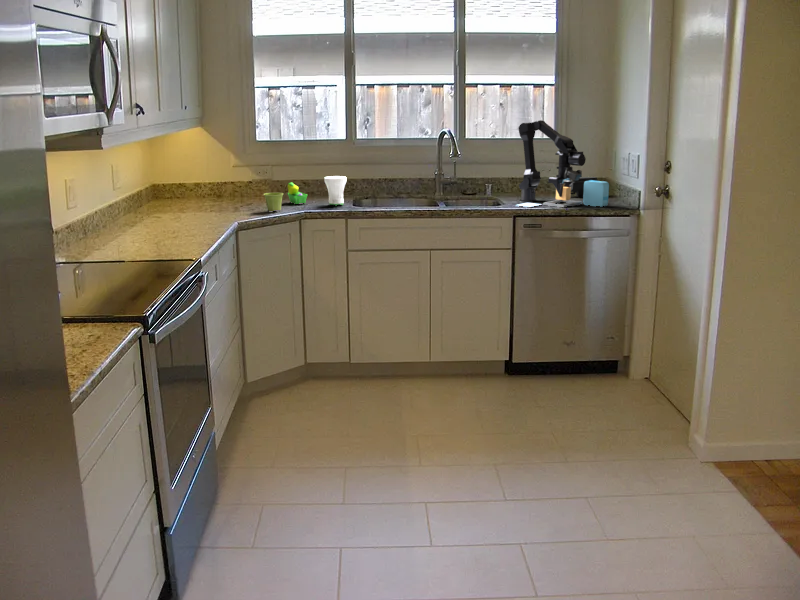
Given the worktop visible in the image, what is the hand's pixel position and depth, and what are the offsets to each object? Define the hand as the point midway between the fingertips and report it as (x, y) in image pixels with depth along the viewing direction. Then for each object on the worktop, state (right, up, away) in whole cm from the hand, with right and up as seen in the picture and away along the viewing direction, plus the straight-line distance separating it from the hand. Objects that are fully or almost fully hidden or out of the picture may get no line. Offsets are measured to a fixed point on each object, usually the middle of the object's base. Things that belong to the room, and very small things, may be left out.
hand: (563, 196), depth 385 cm
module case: (0, -4, +1) cm, 4 cm away
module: (0, -1, 0) cm, 2 cm away
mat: (-17, -5, 0) cm, 18 cm away
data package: (+16, -5, -2) cm, 16 cm away
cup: (-114, -3, +10) cm, 114 cm away
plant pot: (-142, -9, -8) cm, 143 cm away
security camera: (+15, +4, +30) cm, 34 cm away
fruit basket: (-135, -2, +17) cm, 136 cm away
